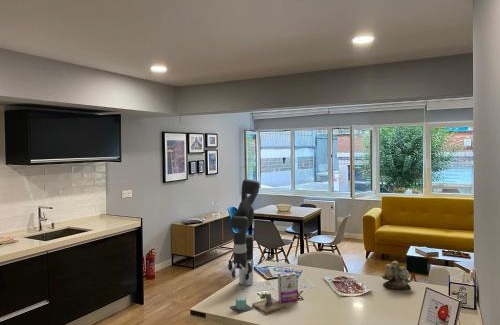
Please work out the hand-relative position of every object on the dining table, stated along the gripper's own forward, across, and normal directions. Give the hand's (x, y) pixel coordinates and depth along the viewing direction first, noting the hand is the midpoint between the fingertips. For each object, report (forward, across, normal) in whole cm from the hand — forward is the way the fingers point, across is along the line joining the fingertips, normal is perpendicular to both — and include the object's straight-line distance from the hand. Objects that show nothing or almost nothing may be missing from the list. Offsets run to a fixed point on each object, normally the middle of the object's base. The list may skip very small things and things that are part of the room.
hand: (240, 278), depth 216 cm
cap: (+17, 0, 0) cm, 17 cm away
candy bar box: (+18, -21, -22) cm, 35 cm away
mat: (+17, 0, 0) cm, 17 cm away
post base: (+17, -14, -8) cm, 24 cm away
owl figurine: (+18, -77, -71) cm, 106 cm away
